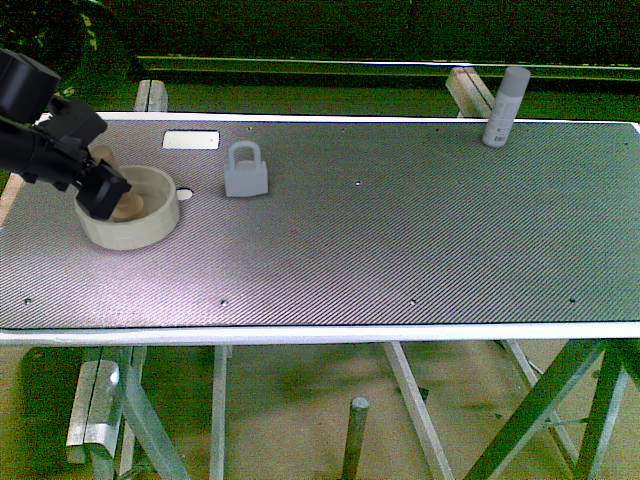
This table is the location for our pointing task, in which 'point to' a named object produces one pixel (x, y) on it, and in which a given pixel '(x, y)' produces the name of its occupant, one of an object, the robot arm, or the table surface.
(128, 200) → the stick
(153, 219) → the bowl
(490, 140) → the container
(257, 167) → the padlock
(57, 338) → the table surface
